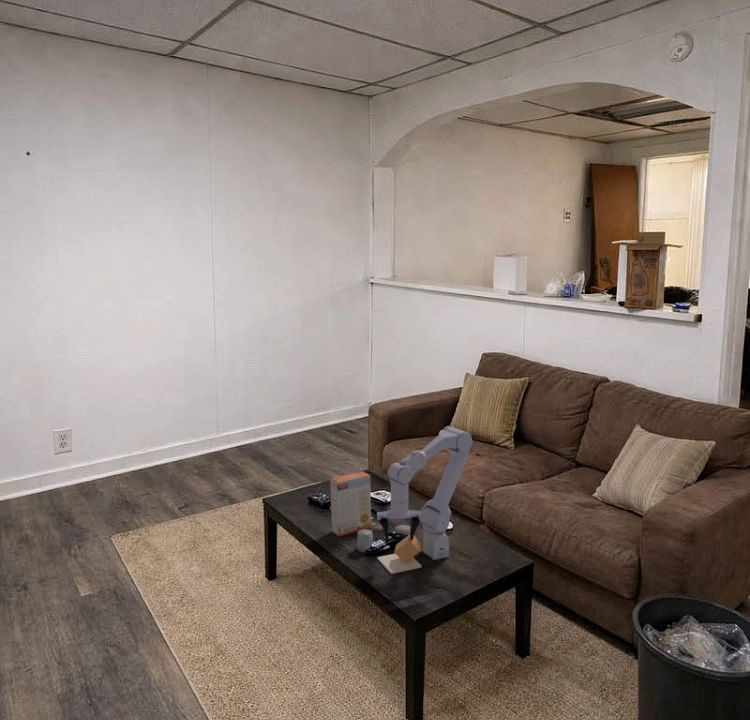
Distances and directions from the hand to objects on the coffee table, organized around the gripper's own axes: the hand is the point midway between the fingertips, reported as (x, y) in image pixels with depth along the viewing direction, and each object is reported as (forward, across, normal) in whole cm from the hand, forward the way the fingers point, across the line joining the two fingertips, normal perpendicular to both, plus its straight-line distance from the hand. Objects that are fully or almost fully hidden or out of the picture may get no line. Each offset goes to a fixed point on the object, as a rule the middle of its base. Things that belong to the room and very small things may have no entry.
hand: (399, 539), depth 205 cm
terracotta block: (+6, -1, -2) cm, 6 cm away
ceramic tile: (+8, 0, 0) cm, 8 cm away
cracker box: (+9, +15, -27) cm, 32 cm away
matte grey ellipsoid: (+9, -4, -21) cm, 23 cm away
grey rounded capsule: (+8, +10, -11) cm, 18 cm away
